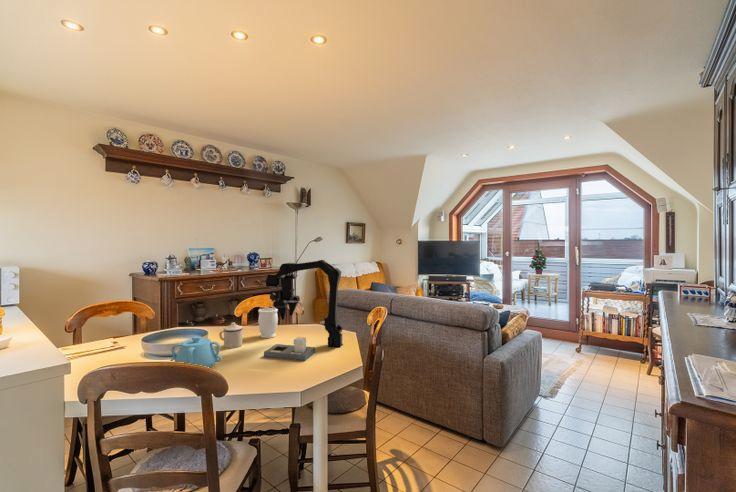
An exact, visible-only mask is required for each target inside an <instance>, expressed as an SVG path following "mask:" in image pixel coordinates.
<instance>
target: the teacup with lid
mask: <svg viewBox="0 0 736 492" xmlns="http://www.w3.org/2000/svg"><path fill="white" fill-rule="evenodd" d="M243 329H244V328H243V326H242V325H238V324H237V323H236V322H230V324H229V325H228V326H225V327H224V328H223V330H221V331H220V332H219V339H220V341H223V347H224V348H225V349H235V348H239V347H242V345H243ZM222 333H223V336H222Z"/></svg>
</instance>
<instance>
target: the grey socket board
mask: <svg viewBox="0 0 736 492" xmlns="http://www.w3.org/2000/svg"><path fill="white" fill-rule="evenodd" d="M315 353H316V347H315V346H306V351H305V352H304V353H301V352H294V344H293V345H291V344H282V343H281V344H279V343H277V344H275V345H272V346H271V347H270V348H268V349H266V350H264V351H263V358H266V359H267V358H268V359H275V360H276V359H279V360H288V361H289V360H290V361H299V362H306V361H308V359H310V358H311V357H312V356H313V355H314V354H315Z"/></svg>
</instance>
